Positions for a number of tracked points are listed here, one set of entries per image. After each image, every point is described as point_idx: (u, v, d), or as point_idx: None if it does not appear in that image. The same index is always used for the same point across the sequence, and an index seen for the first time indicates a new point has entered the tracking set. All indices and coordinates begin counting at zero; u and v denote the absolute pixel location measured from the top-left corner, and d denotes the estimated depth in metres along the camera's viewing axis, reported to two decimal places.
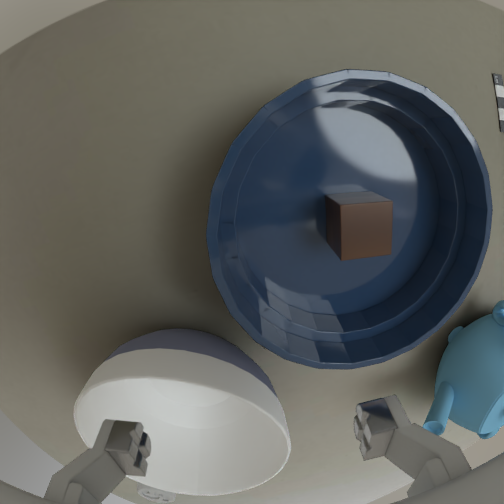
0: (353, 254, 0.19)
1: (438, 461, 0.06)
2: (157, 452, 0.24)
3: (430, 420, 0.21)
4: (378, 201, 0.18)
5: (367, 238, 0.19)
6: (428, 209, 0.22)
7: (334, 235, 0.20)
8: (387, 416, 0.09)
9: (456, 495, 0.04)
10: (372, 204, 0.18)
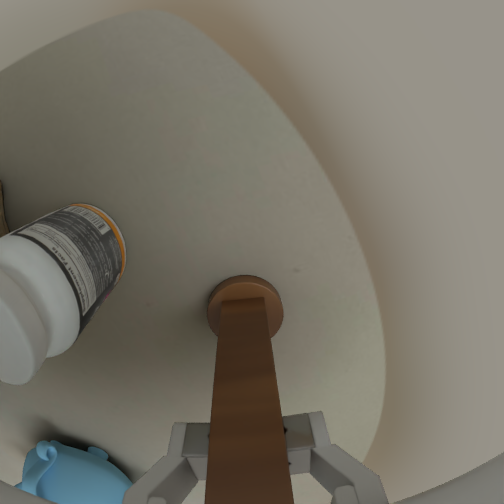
0: None
1: (350, 490, 0.06)
2: None
3: None
4: None
5: None
6: None
7: None
8: (306, 433, 0.09)
9: (456, 495, 0.04)
10: None
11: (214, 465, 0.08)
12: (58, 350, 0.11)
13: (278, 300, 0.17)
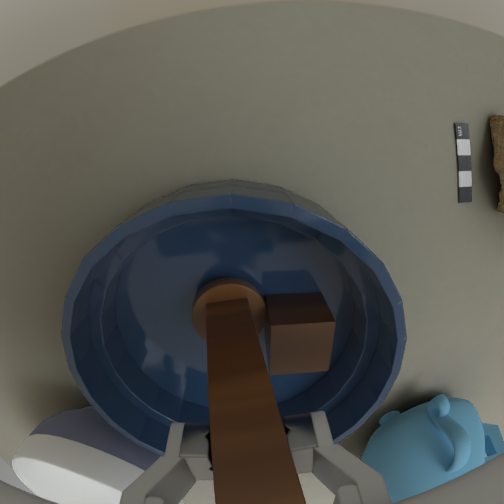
0: (283, 370, 0.17)
1: (353, 489, 0.06)
2: (94, 495, 0.22)
3: None
4: (318, 321, 0.16)
5: (300, 356, 0.17)
6: (337, 315, 0.20)
7: (267, 344, 0.18)
8: (309, 433, 0.09)
9: (456, 495, 0.04)
10: (310, 325, 0.16)
11: (219, 461, 0.08)
12: None
13: (261, 300, 0.18)
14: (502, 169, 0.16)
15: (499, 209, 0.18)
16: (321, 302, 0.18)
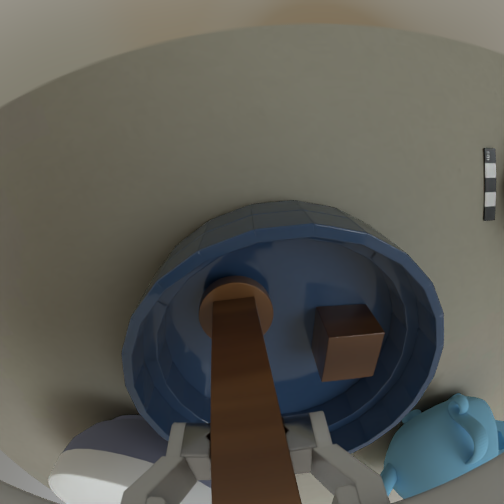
0: (334, 377, 0.18)
1: (351, 489, 0.06)
2: None
3: None
4: (369, 332, 0.17)
5: (351, 364, 0.18)
6: None
7: (319, 354, 0.19)
8: (308, 433, 0.09)
9: (456, 495, 0.04)
10: (363, 336, 0.17)
11: (218, 459, 0.08)
12: None
13: (268, 299, 0.18)
14: None
15: None
16: (368, 314, 0.19)
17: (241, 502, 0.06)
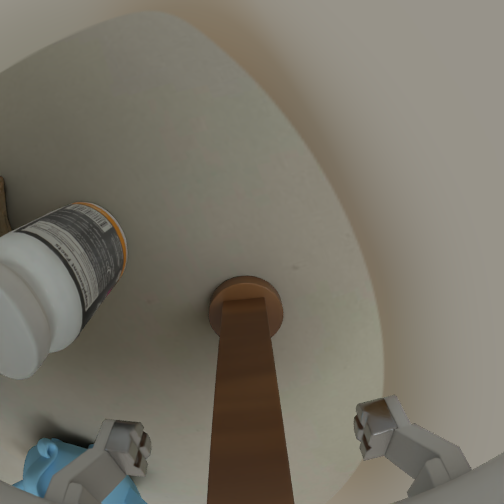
0: None
1: (438, 461, 0.06)
2: None
3: None
4: None
5: None
6: None
7: None
8: (387, 416, 0.09)
9: (456, 495, 0.04)
10: None
11: (216, 460, 0.08)
12: (61, 345, 0.11)
13: (278, 300, 0.18)
14: None
15: None
16: None
17: None
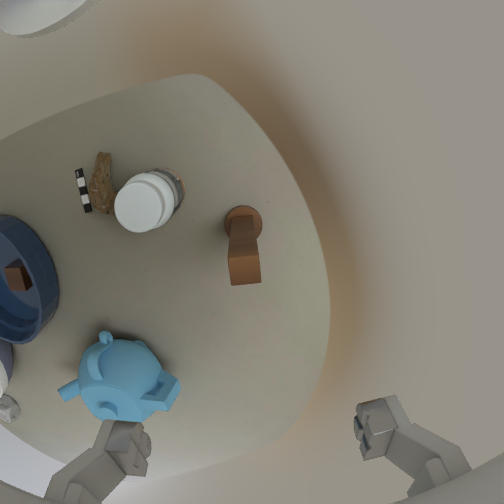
0: (12, 288, 0.35)
1: (437, 461, 0.06)
2: None
3: (57, 389, 0.37)
4: (15, 267, 0.34)
5: (15, 282, 0.34)
6: None
7: None
8: (387, 416, 0.09)
9: (456, 495, 0.04)
10: (13, 268, 0.34)
11: (231, 246, 0.26)
12: (162, 221, 0.29)
13: (259, 217, 0.36)
14: None
15: None
16: None
17: (238, 252, 0.25)
